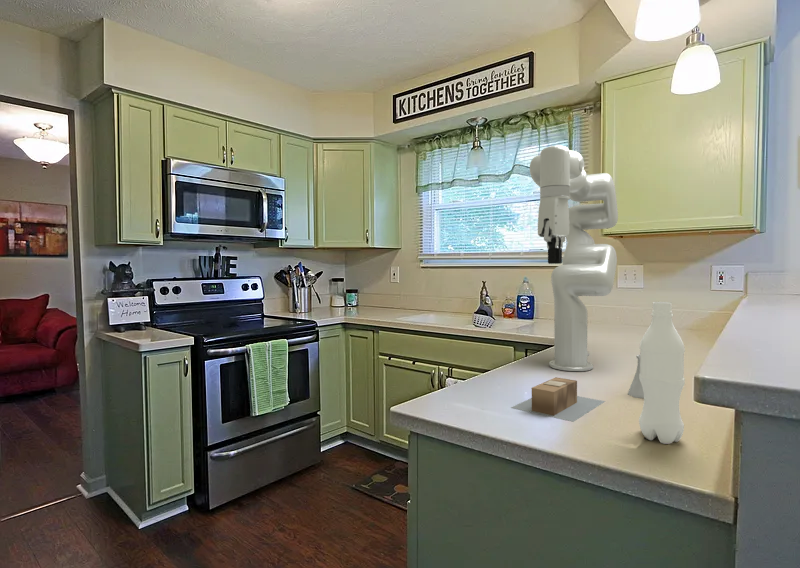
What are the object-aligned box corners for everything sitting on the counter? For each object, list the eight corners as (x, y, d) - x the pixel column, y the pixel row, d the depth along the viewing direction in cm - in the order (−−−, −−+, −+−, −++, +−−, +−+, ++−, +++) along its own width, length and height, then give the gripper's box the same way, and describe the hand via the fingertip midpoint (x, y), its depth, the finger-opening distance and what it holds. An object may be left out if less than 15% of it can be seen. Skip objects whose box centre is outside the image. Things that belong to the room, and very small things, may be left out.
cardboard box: (555, 376, 109) (531, 386, 100) (577, 379, 105) (553, 390, 96) (555, 398, 109) (531, 410, 100) (576, 402, 106) (553, 415, 97)
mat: (547, 392, 116) (547, 390, 116) (605, 403, 106) (605, 401, 106) (510, 410, 103) (510, 407, 102) (573, 424, 93) (573, 421, 93)
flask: (665, 402, 107) (665, 359, 106) (631, 401, 108) (631, 358, 108) (654, 393, 114) (655, 353, 113) (623, 392, 115) (623, 352, 115)
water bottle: (675, 432, 88) (676, 300, 87) (690, 447, 81) (692, 304, 80) (634, 430, 89) (634, 300, 88) (645, 445, 82) (646, 304, 81)
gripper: (553, 198, 132) (553, 263, 132) (528, 193, 121) (528, 264, 121) (580, 195, 126) (579, 263, 127) (556, 190, 116) (556, 263, 116)
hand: (554, 263), depth 124 cm, fingers closed
